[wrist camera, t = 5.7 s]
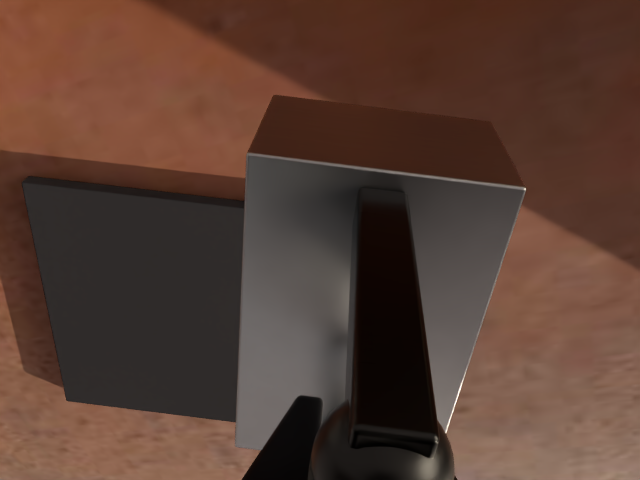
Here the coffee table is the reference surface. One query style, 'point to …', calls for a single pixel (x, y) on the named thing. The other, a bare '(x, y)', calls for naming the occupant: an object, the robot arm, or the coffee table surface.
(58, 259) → the mat
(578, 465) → the coffee table surface
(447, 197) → the silver handled block
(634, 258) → the coffee table surface
